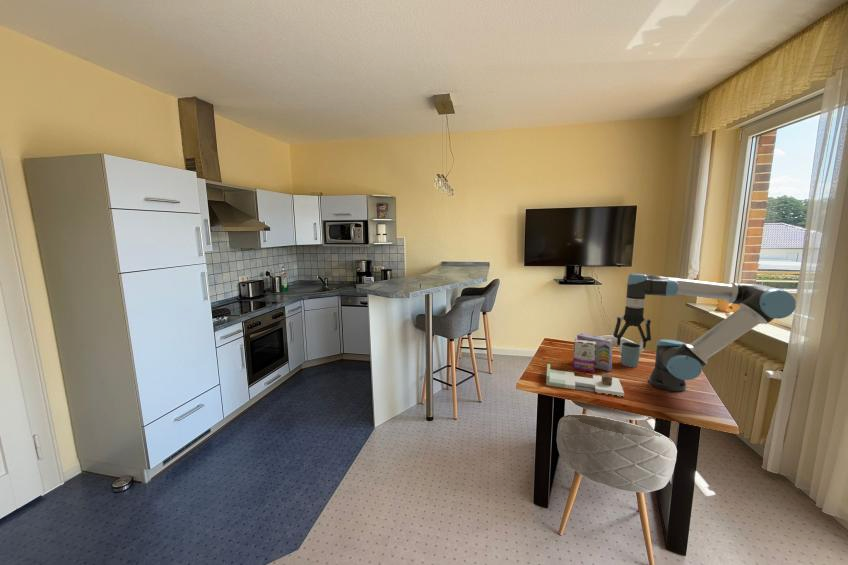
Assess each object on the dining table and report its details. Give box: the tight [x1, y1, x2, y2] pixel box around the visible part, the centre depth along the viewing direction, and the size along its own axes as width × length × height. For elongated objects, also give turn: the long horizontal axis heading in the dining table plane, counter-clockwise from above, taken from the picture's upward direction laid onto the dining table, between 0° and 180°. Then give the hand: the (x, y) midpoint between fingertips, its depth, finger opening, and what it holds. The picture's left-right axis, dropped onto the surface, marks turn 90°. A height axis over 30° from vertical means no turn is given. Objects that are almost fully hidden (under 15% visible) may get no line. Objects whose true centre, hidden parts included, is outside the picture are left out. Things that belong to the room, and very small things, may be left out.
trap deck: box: [545, 363, 625, 398], centre depth 173 cm, size 34×16×5 cm, turn 69°
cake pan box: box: [576, 332, 614, 372], centre depth 194 cm, size 19×5×18 cm, turn 42°
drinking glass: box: [620, 341, 640, 368], centre depth 197 cm, size 10×10×12 cm
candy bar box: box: [572, 338, 596, 373], centre depth 190 cm, size 11×5×16 cm, turn 62°
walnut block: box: [601, 373, 613, 386], centre depth 169 cm, size 4×4×4 cm
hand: (630, 352), depth 163 cm, fingers open, 8 cm apart
